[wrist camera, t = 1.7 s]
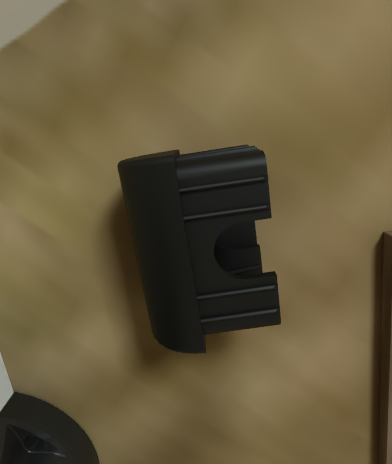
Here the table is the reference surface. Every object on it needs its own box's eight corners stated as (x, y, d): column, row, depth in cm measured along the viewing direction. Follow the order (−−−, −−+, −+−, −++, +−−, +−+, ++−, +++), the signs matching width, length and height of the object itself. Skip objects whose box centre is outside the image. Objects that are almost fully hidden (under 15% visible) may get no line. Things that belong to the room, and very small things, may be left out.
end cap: (130, 156, 21) (102, 165, 14) (244, 138, 21) (267, 140, 14) (159, 300, 24) (146, 363, 17) (260, 286, 23) (285, 344, 17)
